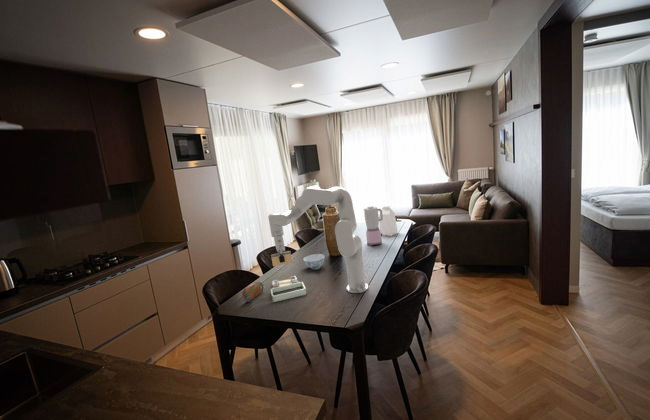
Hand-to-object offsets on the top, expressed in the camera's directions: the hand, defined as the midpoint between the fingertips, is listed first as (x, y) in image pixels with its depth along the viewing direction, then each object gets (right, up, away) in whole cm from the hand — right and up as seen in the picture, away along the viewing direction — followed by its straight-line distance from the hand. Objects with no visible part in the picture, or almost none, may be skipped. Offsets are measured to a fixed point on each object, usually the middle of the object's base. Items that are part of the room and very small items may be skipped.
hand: (282, 261), depth 191 cm
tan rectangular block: (0, -2, 0) cm, 2 cm away
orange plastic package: (-15, -20, -10) cm, 27 cm away
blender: (+70, +4, +65) cm, 96 cm away
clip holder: (+2, -16, +3) cm, 16 cm away
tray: (+6, -17, -12) cm, 22 cm away
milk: (+86, +10, +90) cm, 125 cm away
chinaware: (+20, -9, +26) cm, 35 cm away
